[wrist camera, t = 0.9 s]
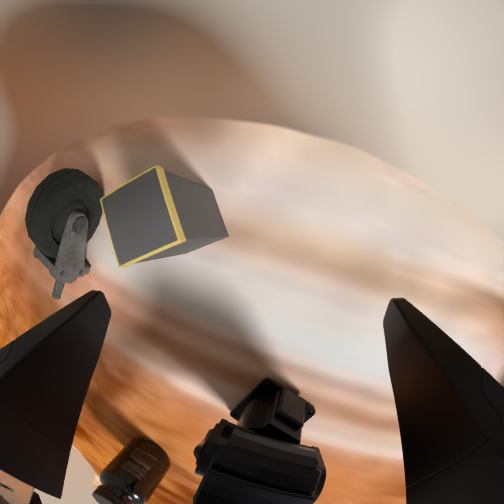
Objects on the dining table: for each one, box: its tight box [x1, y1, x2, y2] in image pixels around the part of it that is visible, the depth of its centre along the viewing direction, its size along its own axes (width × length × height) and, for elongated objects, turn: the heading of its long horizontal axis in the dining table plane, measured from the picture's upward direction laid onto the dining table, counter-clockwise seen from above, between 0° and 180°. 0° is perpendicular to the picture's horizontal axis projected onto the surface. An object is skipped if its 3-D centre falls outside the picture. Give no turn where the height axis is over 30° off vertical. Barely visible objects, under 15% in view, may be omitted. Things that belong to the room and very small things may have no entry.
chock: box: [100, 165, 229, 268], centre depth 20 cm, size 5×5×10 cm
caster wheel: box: [25, 168, 103, 300], centre depth 24 cm, size 6×10×15 cm
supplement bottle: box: [92, 439, 170, 504], centre depth 23 cm, size 7×7×12 cm
